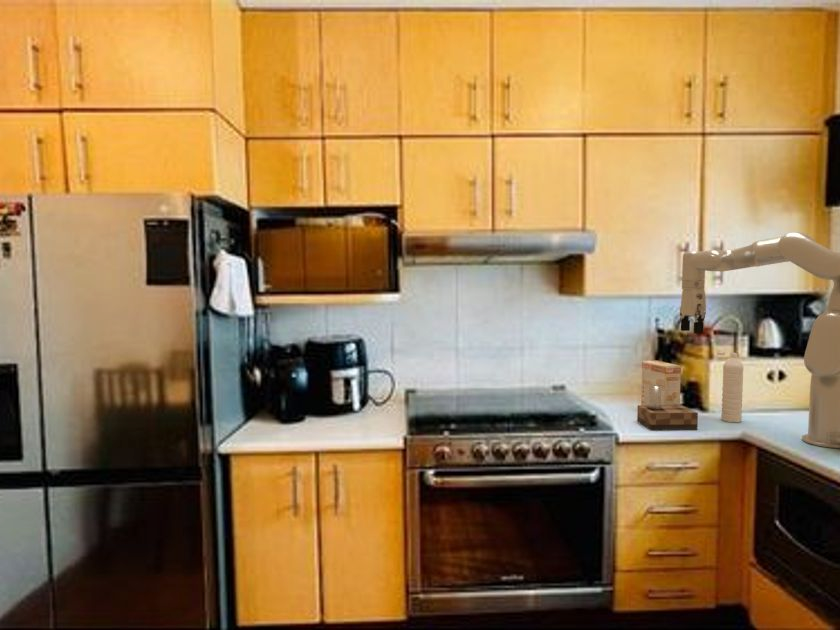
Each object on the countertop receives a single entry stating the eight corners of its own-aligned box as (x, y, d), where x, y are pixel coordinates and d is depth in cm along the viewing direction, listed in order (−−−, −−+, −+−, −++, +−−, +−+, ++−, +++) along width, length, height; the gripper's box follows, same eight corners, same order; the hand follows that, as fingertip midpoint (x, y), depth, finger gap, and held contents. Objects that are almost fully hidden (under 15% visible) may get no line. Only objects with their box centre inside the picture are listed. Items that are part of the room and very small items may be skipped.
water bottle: (738, 418, 213) (740, 351, 211) (743, 423, 207) (746, 354, 205) (712, 417, 215) (714, 351, 213) (717, 421, 209) (719, 353, 207)
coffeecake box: (680, 417, 216) (681, 365, 215) (663, 418, 214) (664, 366, 213) (656, 408, 230) (657, 359, 229) (640, 409, 229) (641, 360, 228)
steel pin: (663, 421, 201) (663, 386, 201) (652, 421, 201) (651, 387, 201) (659, 418, 205) (658, 385, 205) (647, 418, 205) (647, 385, 205)
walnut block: (697, 430, 198) (697, 412, 197) (651, 430, 197) (651, 413, 197) (680, 421, 209) (681, 405, 209) (637, 421, 209) (637, 405, 209)
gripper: (715, 285, 202) (714, 334, 203) (691, 285, 219) (690, 329, 220) (694, 285, 202) (693, 334, 203) (671, 285, 219) (670, 329, 220)
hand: (691, 331), depth 211 cm, fingers open, 9 cm apart
